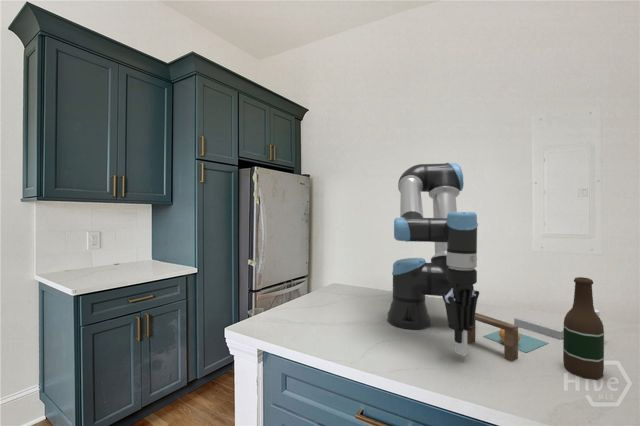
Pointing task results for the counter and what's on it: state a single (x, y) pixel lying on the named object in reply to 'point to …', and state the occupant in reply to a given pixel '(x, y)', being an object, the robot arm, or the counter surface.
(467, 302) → the robot arm
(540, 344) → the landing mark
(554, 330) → the wall
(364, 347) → the counter surface
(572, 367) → the beer bottle
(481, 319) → the bridge
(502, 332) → the ball
